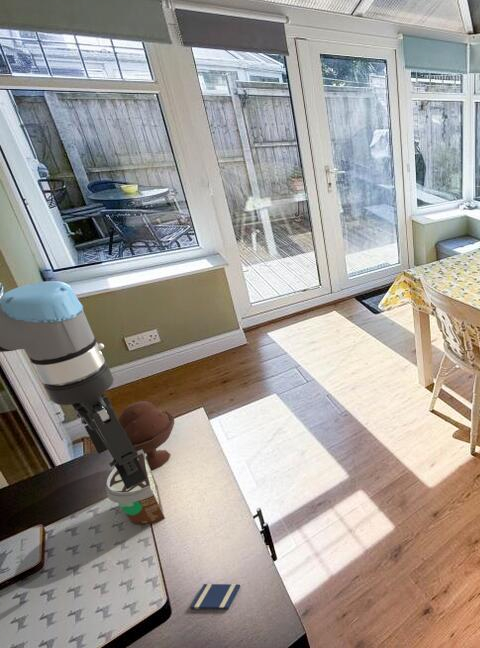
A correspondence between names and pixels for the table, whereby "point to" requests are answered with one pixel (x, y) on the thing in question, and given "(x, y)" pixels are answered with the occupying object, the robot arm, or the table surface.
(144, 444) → the ice cream bowl
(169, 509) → the table surface
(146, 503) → the food container
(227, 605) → the tea towel
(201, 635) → the table surface
